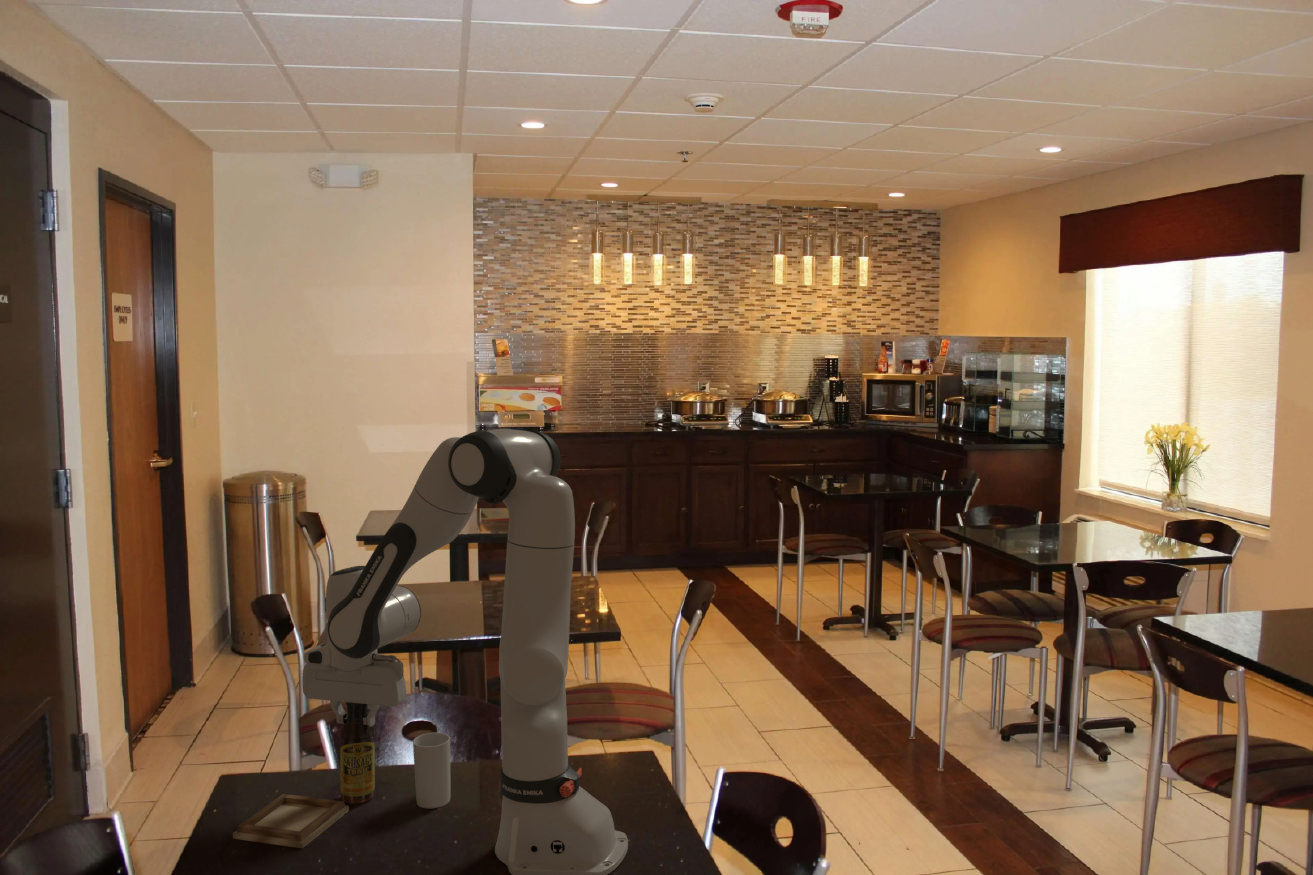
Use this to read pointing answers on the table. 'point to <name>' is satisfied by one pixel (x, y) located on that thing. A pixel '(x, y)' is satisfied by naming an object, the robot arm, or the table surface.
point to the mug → (432, 769)
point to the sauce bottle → (357, 757)
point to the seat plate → (291, 821)
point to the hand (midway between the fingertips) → (355, 723)
